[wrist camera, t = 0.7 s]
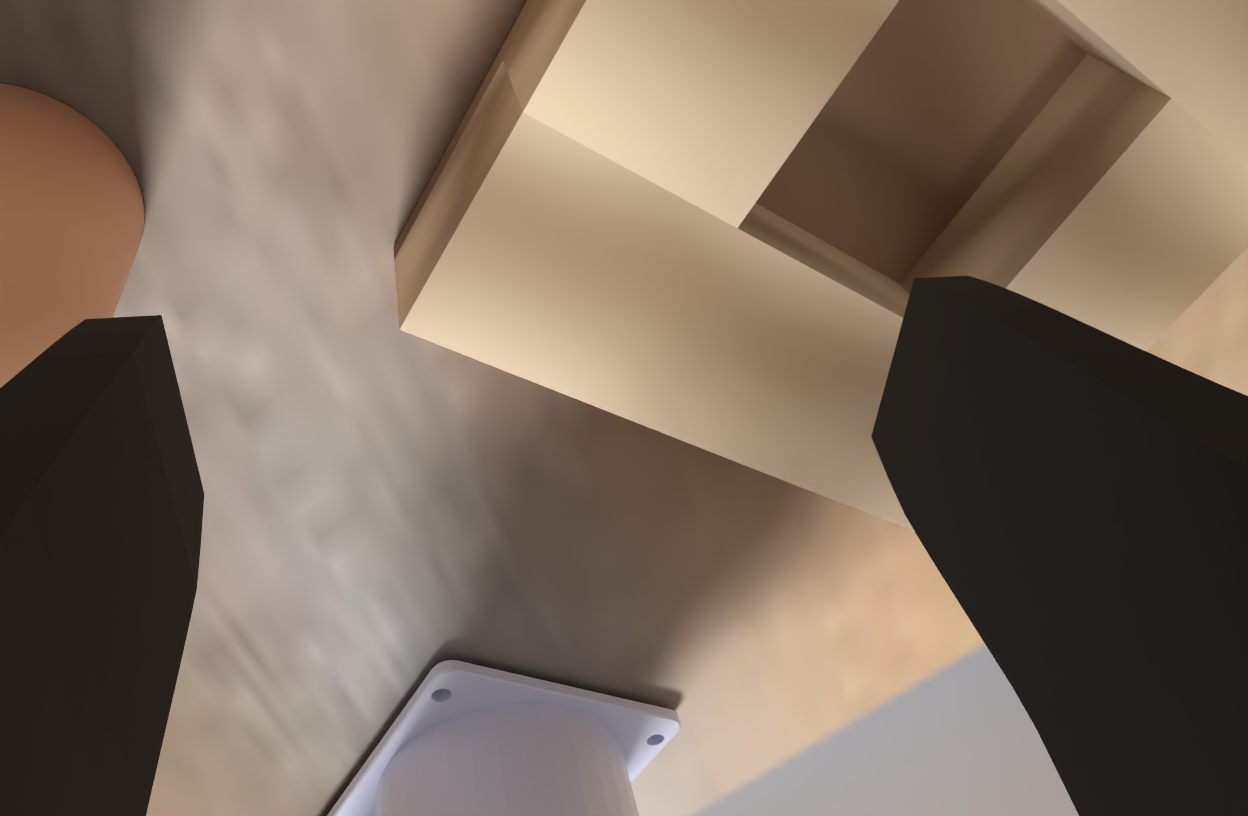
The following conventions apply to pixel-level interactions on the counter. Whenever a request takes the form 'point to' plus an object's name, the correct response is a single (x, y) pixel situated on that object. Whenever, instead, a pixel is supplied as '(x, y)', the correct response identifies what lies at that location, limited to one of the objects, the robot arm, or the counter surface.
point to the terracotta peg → (59, 224)
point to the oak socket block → (819, 200)
